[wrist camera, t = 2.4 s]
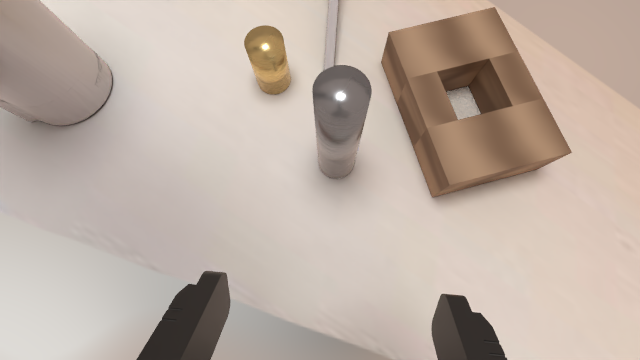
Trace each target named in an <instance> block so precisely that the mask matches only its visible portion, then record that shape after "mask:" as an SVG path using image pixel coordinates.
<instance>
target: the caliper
mask: <svg viewBox="0 0 640 360" xmlns="http://www.w3.org/2000/svg"><path fill="white" fill-rule="evenodd" d="M338 2H339V0H329V10H328V24H327V37H326V51H325V64H324V70H326V69H327V68H330V67H333V66H334V58H335V44H336V30H337V16H338Z"/></svg>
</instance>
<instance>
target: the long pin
mask: <svg viewBox="0 0 640 360" xmlns="http://www.w3.org/2000/svg"><path fill="white" fill-rule="evenodd" d="M370 98H371V85H370V82H369V80H368V78H367V77H366V76H365V74H363V73H362V72H361V71H360V70H358V69H356V68H354V67H351V66H346V65H337V66H333V67H330V68H327V69H326V70H324V71H323V72H321V73H320V74H319V75H318V77H317V78H316V80H315V82H314V84H313V103H314V115H315V127H316V139H317V150H318V162H319V167H320V169H321V171H322V172H323V173H324V174H325V175H326V176H328V177H330V178H334V179H339V178H343V177H345V176H347V175H348V174H349V173H350V172H351V171H352V169H353V166H354V162H355V158H356V154H357V150H358V146H359V142H360V138H361V134H362V130H363V126H364V122H365V118H366V114H367V110H368V106H369V102H370Z"/></svg>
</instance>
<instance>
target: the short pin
mask: <svg viewBox="0 0 640 360" xmlns="http://www.w3.org/2000/svg"><path fill="white" fill-rule="evenodd" d="M244 45H245V49H246V51H247V54H248V57H249V60H250V62H251V65H252V68H253V70H254V73H255V76H256V79H257V81H258V84H259V86H260V88H261V89H262V90H263V91H264V92H266V93H268V94H279V93H282V92H284V91H285V90H286V89H287V88H288V87H289V85H290V82H291V77H290V72H289V67H288V61H287V56H286V51H285V46H284V40H283V36H282V34H281V32H280V31H279V30H277V29H276V28H274V27H271V26H259V27H256V28H254V29H252V30H251V31H250V32H249V33H248V34H247V36H246V38H245V41H244Z"/></svg>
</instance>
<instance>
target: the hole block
mask: <svg viewBox="0 0 640 360" xmlns="http://www.w3.org/2000/svg"><path fill="white" fill-rule="evenodd" d="M381 63H382V65H383V68H384V71H385V73H386V76H387V79H388V81H389V84H390V87H391V89H392V92H393V95H394V97H395V100H396V103H397V105H398V108H399V110H400V113H401V116H402V118H403V121H404V124H405V126H406V129H407V132H408V134H409V137H410V140H411V142H412V145H413V148H414V150H415V153H416V156H417V158H418V161H419V164H420V166H421V169H422V171H423V174H424V177H425V179H426V182H427V185H428V187H429V190H430V193H431V195H432V197H435V196H439V195H443V194H446V193H450V192H454V191H458V190H461V189H465V188H469V187H473V186H476V185H480V184H484V183H487V182H491V181H495V180H499V179H502V178H506V177H510V176H514V175H517V174H521V173H525V172H528V171H532V170H536V169H539V168H541V167H543V166H545V165H547V164H549V163H551V162H553V161H555V160H557V159H559V158H561V157H564V156H566V155H568V154H570V153H572V152H571V150H570V148H569V146H568V144H567V142H566V141H565V139H564V137H563V135H562V133H561V131H560V129H559V127H558V125H557V124H556V122H555V120H554V118H553V116H552V114H551V112H550V110H549V109H548V107H547V105H546V103H545V101H544V99H543V97H542V95H541V93H540V92H539V90H538V88H537V86H536V84H535V82H534V80H533V78H532V76H531V75H530V73H529V71H528V69H527V67H526V65H525V63H524V61H523V60H522V58H521V56H520V54H519V52H518V50H517V48H516V46H515V44H514V43H513V41H512V39H511V37H510V35H509V33H508V31H507V29H506V27H505V26H504V24H503V22H502V20H501V18H500V16H499V14H498V12H497V10H496V9H495V7H493V8H489V9H485V10H481V11H476V12H472V13H468V14H464V15H460V16H455V17H451V18H447V19H443V20H439V21H434V22H430V23H426V24H422V25H418V26H413V27H409V28H405V29H401V30H397V31H392V32H389V34H388V38H387V42H386V46H385V49H384V53H383V57H382V61H381ZM465 86H469V88H470V90H471V92H472V94H473V97H474V99H475V101H476V103H477V105H478V107H479V110H480V112H481V114H480V115H476V116H472V117H468V118H464V119H460V120H458V119H457V116H456V114H455V112H454V110H453V107H452V105H451V103H450V100H449V98H448V96H447V93H446V91H449V90H453V89H457V88H461V87H465Z"/></svg>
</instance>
